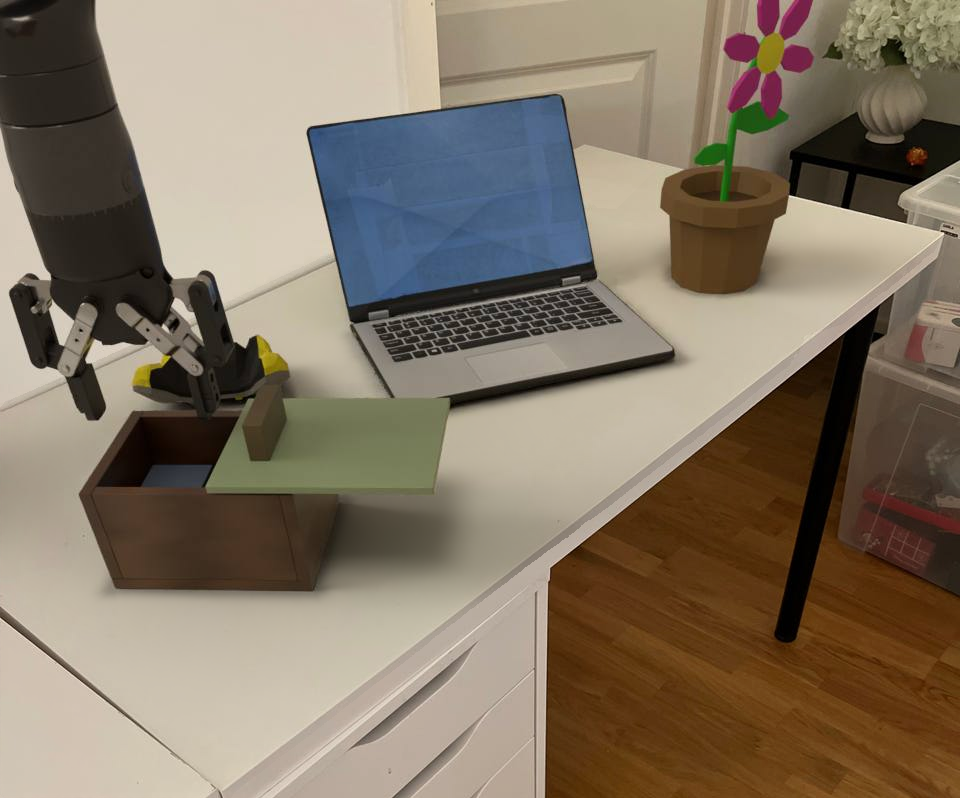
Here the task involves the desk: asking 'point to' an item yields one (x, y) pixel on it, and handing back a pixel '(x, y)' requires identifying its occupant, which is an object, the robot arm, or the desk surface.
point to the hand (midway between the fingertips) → (152, 415)
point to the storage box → (198, 515)
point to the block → (178, 476)
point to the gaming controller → (232, 379)
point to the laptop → (471, 251)
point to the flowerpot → (736, 169)
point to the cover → (332, 446)
